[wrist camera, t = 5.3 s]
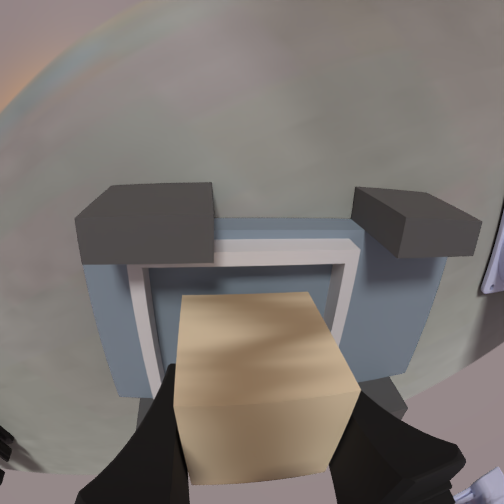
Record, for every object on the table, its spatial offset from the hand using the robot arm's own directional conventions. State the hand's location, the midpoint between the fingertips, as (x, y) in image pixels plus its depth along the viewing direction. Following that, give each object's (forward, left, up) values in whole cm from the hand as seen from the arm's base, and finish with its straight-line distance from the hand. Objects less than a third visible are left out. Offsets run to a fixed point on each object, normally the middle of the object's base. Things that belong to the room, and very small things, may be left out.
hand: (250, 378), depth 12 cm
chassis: (-2, 0, -5) cm, 5 cm away
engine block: (0, 0, -2) cm, 2 cm away
